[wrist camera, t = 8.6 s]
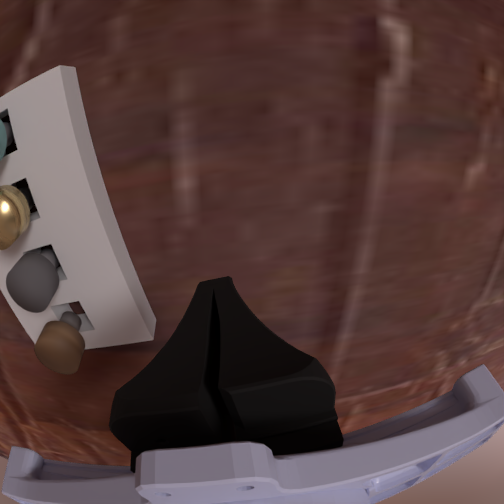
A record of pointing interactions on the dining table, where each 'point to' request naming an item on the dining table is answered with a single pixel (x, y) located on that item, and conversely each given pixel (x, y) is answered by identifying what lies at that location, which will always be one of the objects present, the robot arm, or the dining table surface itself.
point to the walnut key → (61, 344)
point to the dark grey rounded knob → (34, 280)
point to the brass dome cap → (14, 213)
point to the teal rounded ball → (5, 137)
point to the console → (70, 215)
